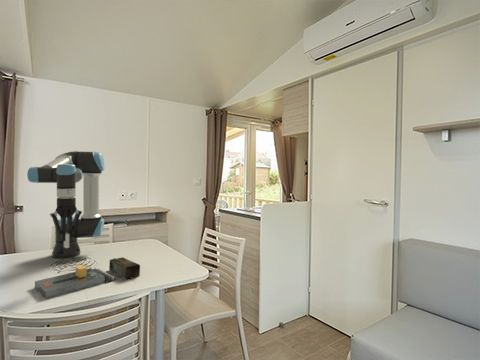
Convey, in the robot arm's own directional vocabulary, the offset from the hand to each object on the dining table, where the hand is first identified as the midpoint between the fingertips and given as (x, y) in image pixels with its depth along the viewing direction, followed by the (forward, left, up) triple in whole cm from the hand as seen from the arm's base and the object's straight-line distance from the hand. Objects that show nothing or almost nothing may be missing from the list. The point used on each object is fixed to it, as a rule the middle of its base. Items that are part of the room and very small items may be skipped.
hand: (66, 247), depth 132 cm
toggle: (+4, +5, -14) cm, 15 cm away
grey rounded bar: (+4, +15, -17) cm, 23 cm away
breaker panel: (+4, +1, -17) cm, 18 cm away
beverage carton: (+7, +25, -18) cm, 31 cm away
